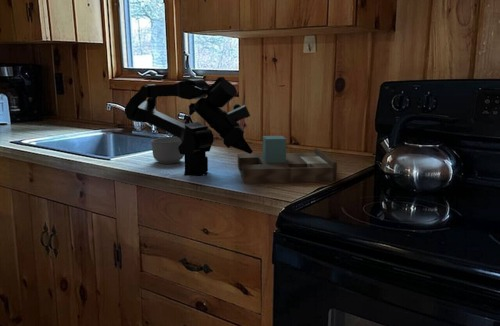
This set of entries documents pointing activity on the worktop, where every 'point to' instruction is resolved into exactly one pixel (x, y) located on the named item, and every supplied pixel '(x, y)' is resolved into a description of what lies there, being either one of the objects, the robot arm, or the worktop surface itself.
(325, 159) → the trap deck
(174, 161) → the teacup
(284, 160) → the teal block
